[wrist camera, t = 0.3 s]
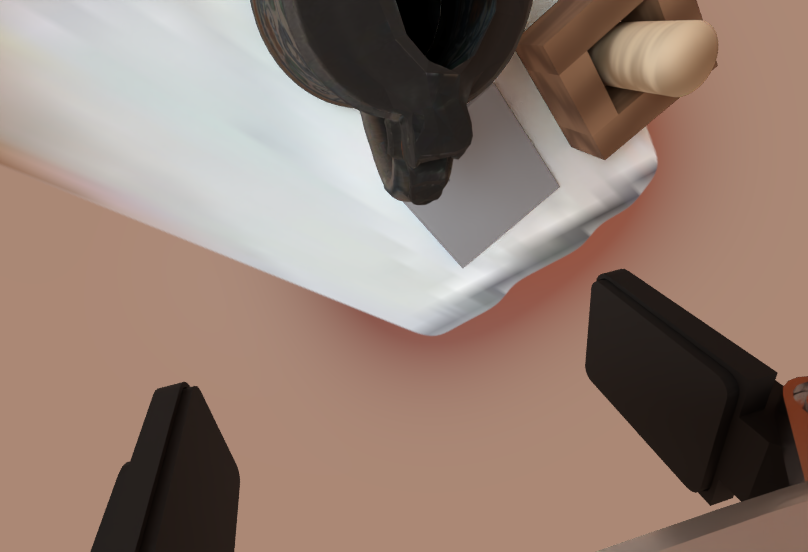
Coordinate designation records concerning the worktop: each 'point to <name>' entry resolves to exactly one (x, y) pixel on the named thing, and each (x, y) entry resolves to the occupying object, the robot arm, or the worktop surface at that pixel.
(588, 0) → the walnut holder
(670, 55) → the maple plug
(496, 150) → the slate mat
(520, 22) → the beer stein
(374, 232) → the worktop surface
